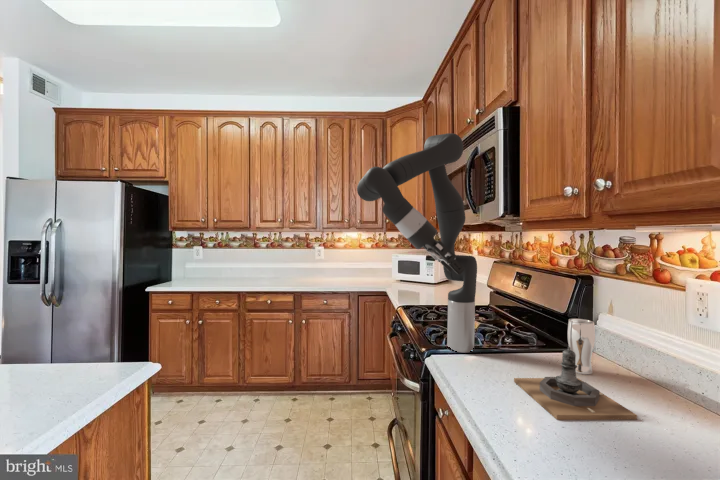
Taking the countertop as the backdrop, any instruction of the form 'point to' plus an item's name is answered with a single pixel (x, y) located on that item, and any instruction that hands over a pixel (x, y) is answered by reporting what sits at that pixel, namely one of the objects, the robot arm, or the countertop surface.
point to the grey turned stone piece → (568, 374)
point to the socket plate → (575, 411)
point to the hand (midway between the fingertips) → (456, 270)
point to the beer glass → (582, 343)
